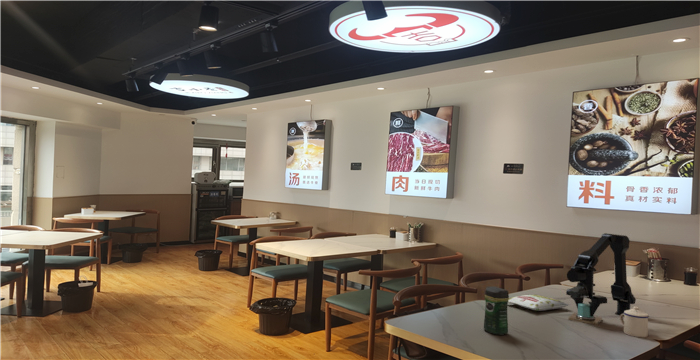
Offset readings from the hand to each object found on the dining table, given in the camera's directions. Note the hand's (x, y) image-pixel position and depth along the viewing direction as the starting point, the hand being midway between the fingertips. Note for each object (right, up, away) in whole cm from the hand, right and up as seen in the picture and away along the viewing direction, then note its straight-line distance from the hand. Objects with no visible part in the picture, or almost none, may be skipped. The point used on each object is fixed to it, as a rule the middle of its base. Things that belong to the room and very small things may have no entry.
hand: (585, 314), depth 216 cm
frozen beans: (-15, -3, +20) cm, 25 cm away
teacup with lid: (+11, -3, -19) cm, 22 cm away
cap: (0, -1, 0) cm, 0 cm away
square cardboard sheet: (0, -3, 0) cm, 3 cm away
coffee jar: (-50, -1, -24) cm, 56 cm away
